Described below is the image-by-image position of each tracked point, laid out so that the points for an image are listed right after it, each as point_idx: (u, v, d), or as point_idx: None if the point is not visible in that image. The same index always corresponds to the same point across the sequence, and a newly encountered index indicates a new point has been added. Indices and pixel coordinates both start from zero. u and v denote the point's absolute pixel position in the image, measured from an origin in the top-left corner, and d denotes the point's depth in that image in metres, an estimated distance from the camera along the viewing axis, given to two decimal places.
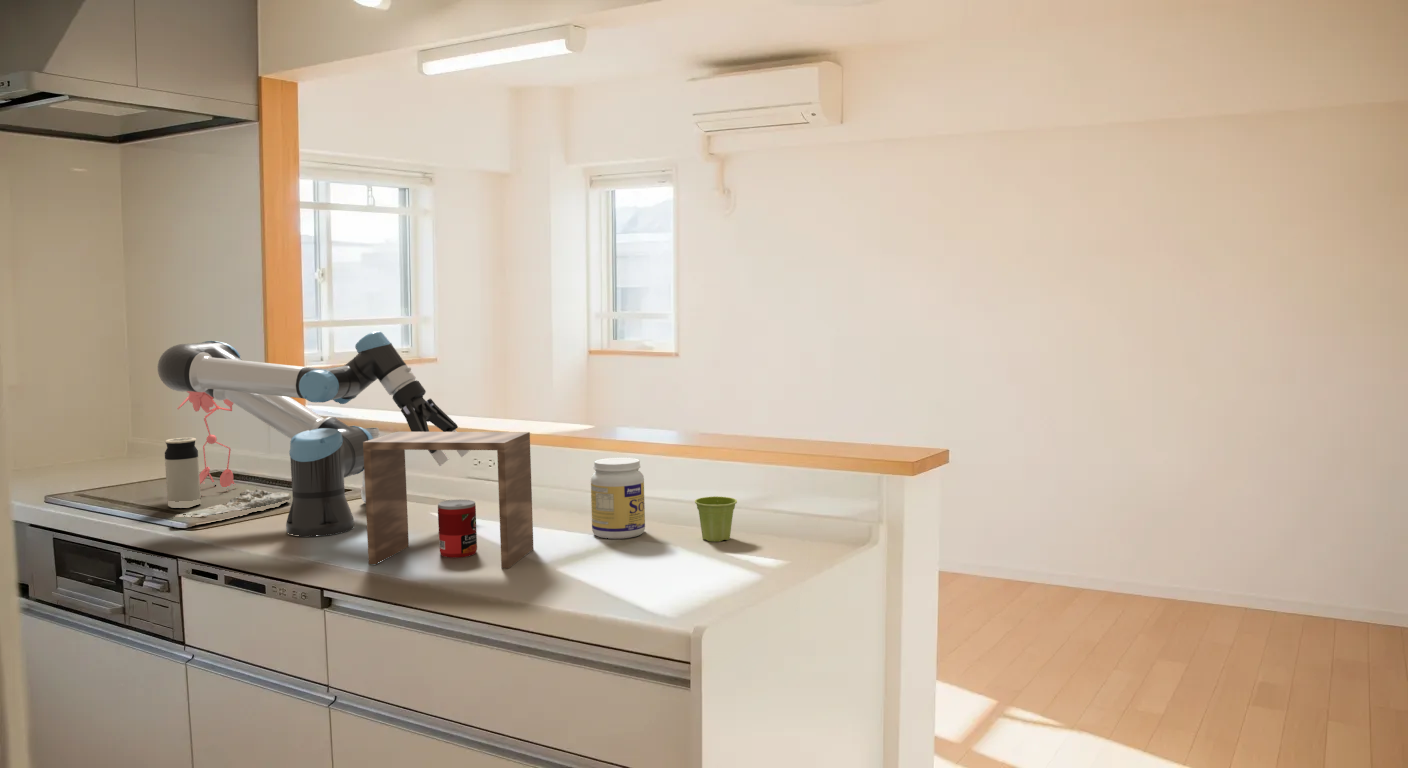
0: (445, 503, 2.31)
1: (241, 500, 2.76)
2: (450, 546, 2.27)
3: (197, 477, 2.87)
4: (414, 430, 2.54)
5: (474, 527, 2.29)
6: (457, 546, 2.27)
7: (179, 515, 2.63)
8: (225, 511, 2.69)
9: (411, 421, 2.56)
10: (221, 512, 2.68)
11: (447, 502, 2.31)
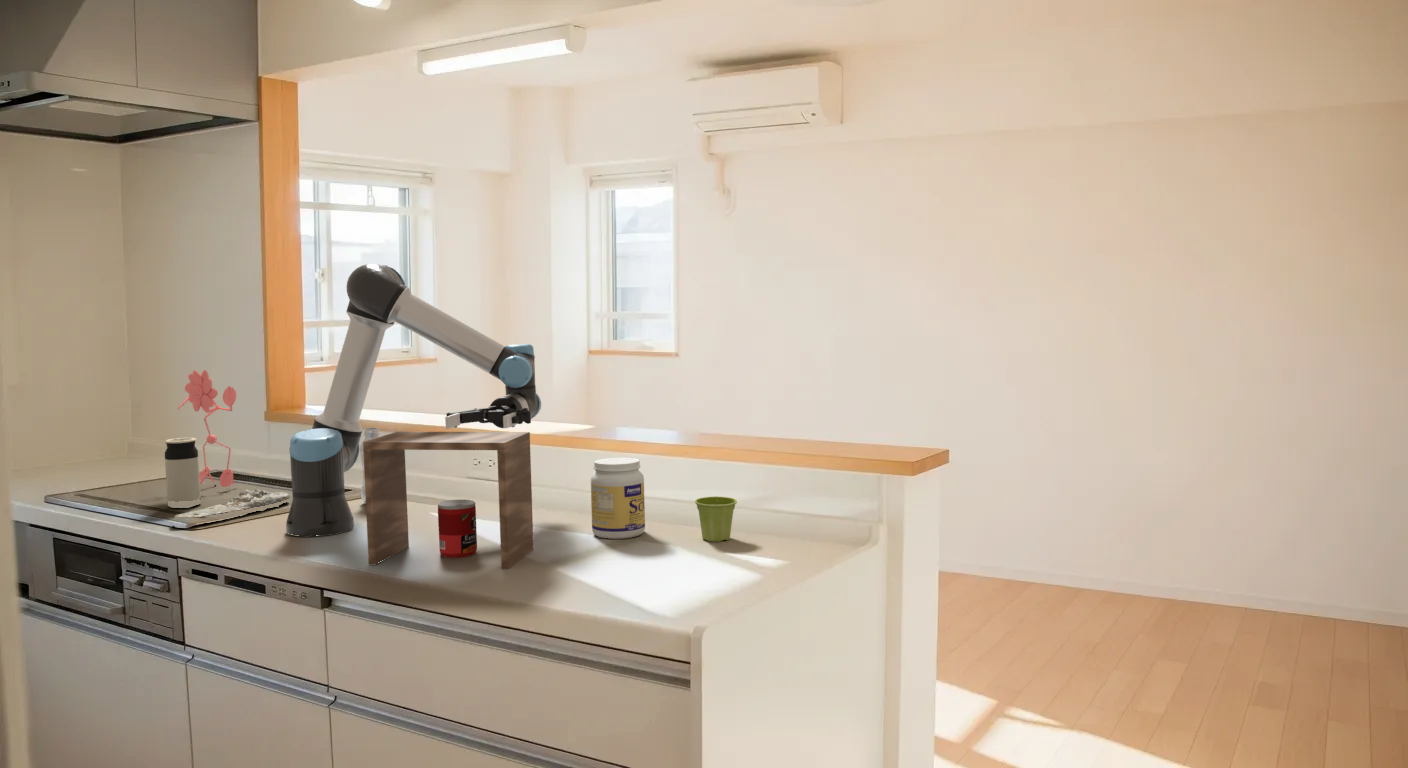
0: (445, 503, 2.31)
1: (241, 500, 2.77)
2: (450, 546, 2.27)
3: (197, 477, 2.87)
4: None
5: (474, 527, 2.29)
6: (457, 546, 2.27)
7: (179, 515, 2.63)
8: (225, 511, 2.69)
9: None
10: (221, 512, 2.68)
11: (447, 502, 2.31)
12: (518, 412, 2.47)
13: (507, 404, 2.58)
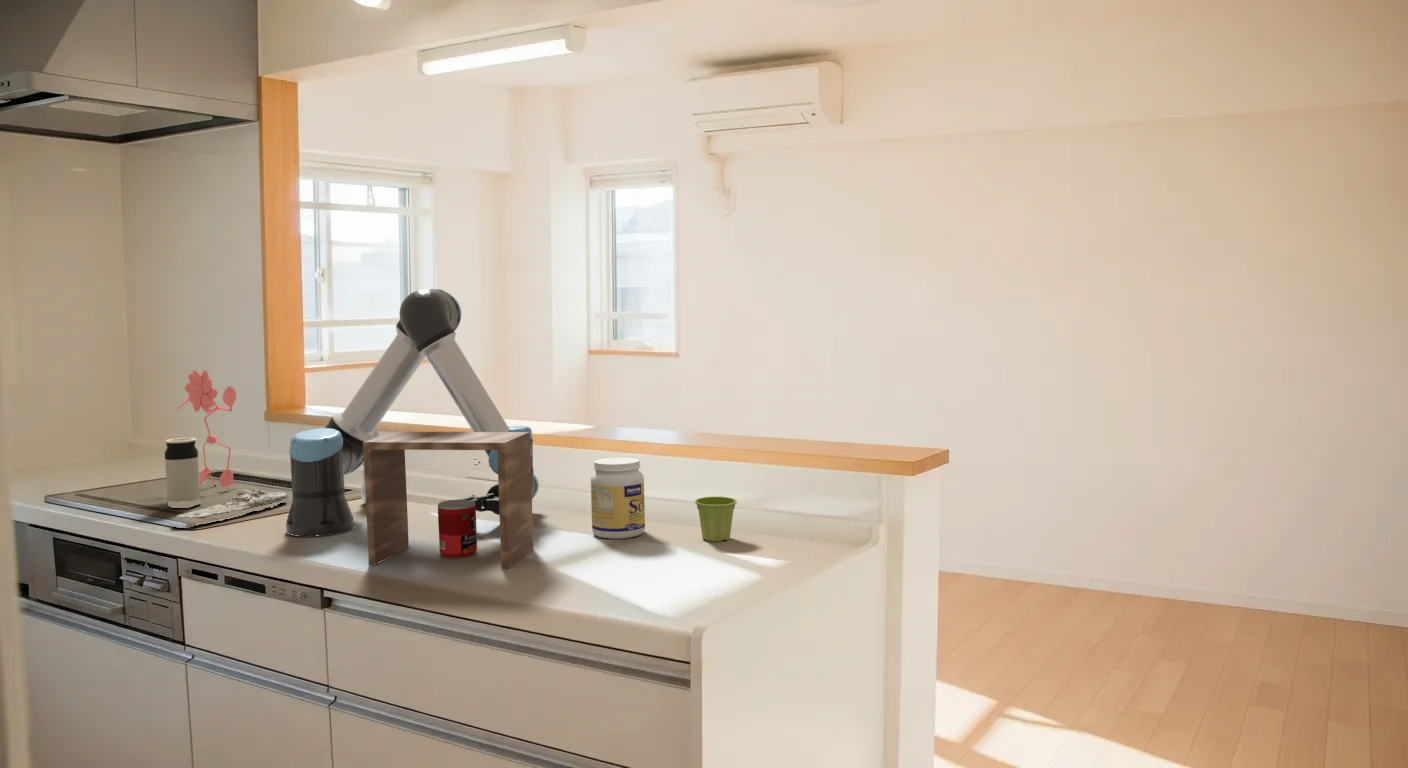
0: (445, 503, 2.31)
1: (240, 500, 2.77)
2: (450, 546, 2.27)
3: (197, 477, 2.87)
4: None
5: (474, 527, 2.29)
6: (457, 546, 2.27)
7: (181, 515, 2.62)
8: (226, 511, 2.69)
9: None
10: (222, 512, 2.68)
11: (447, 502, 2.31)
12: None
13: None
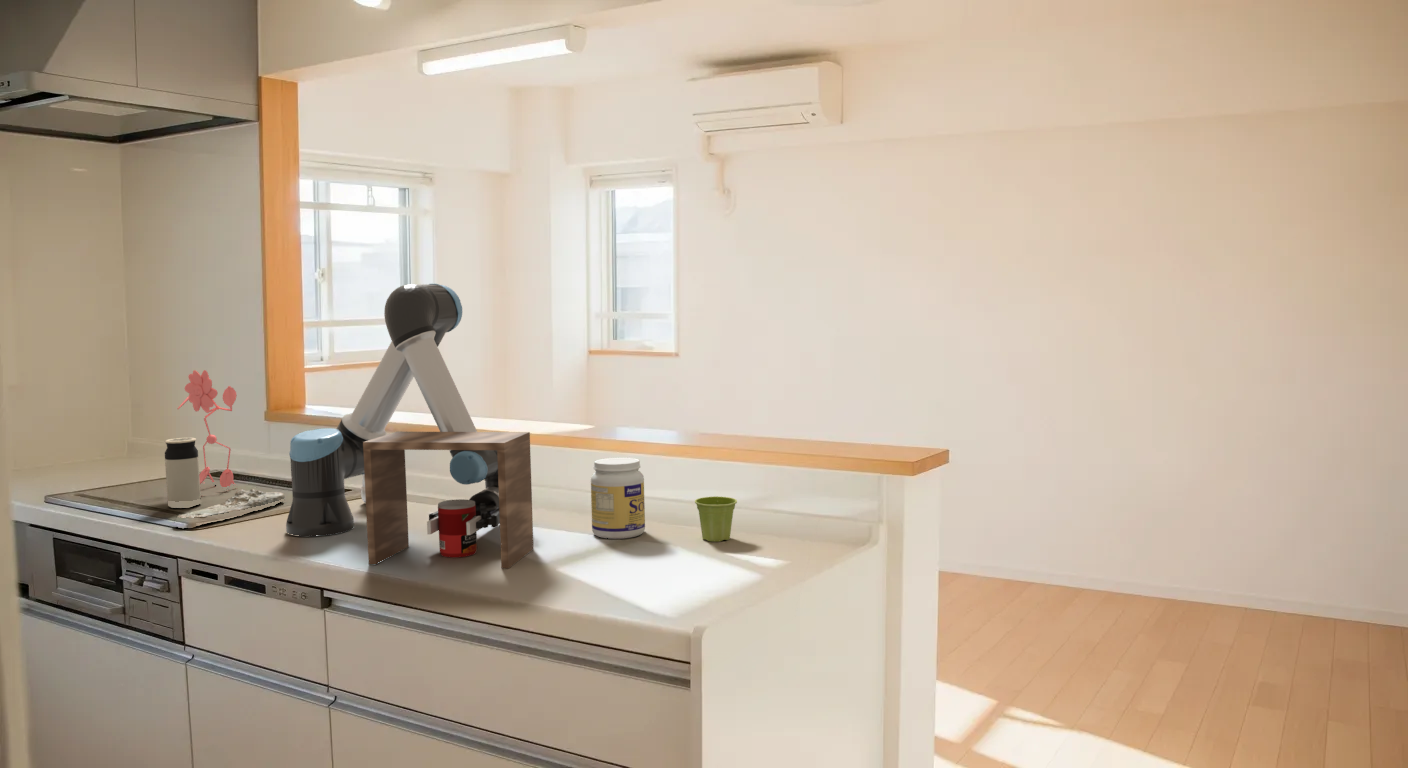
0: (445, 503, 2.31)
1: (239, 500, 2.77)
2: (450, 546, 2.27)
3: (197, 477, 2.87)
4: (498, 516, 2.34)
5: None
6: (457, 546, 2.26)
7: (182, 515, 2.62)
8: (227, 511, 2.69)
9: None
10: (223, 512, 2.68)
11: (447, 502, 2.31)
12: (483, 515, 2.31)
13: (486, 501, 2.43)
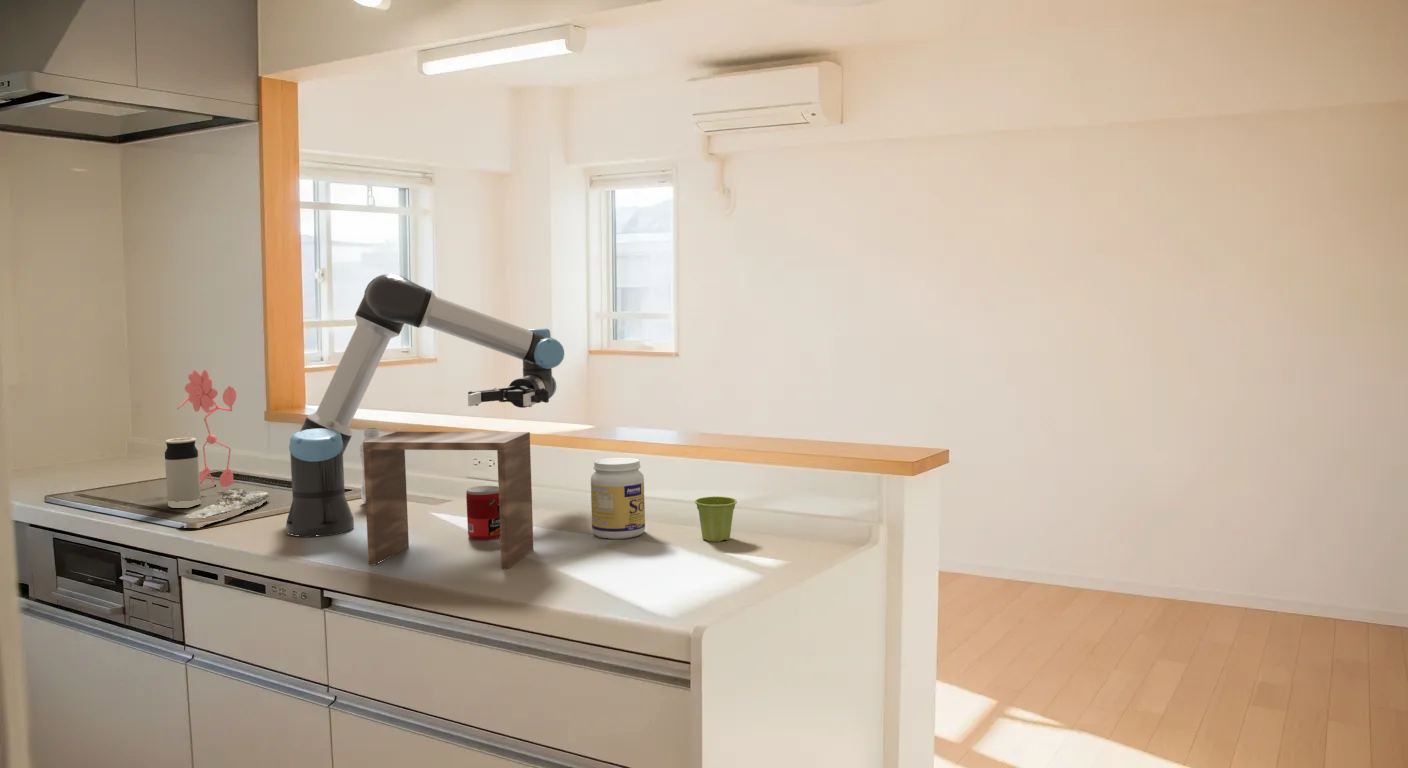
0: (473, 489, 2.46)
1: (233, 499, 2.78)
2: (478, 529, 2.42)
3: (197, 477, 2.87)
4: None
5: None
6: (484, 529, 2.42)
7: (188, 515, 2.62)
8: (228, 510, 2.70)
9: None
10: (225, 511, 2.69)
11: (475, 488, 2.47)
12: (537, 391, 2.59)
13: (525, 384, 2.71)
